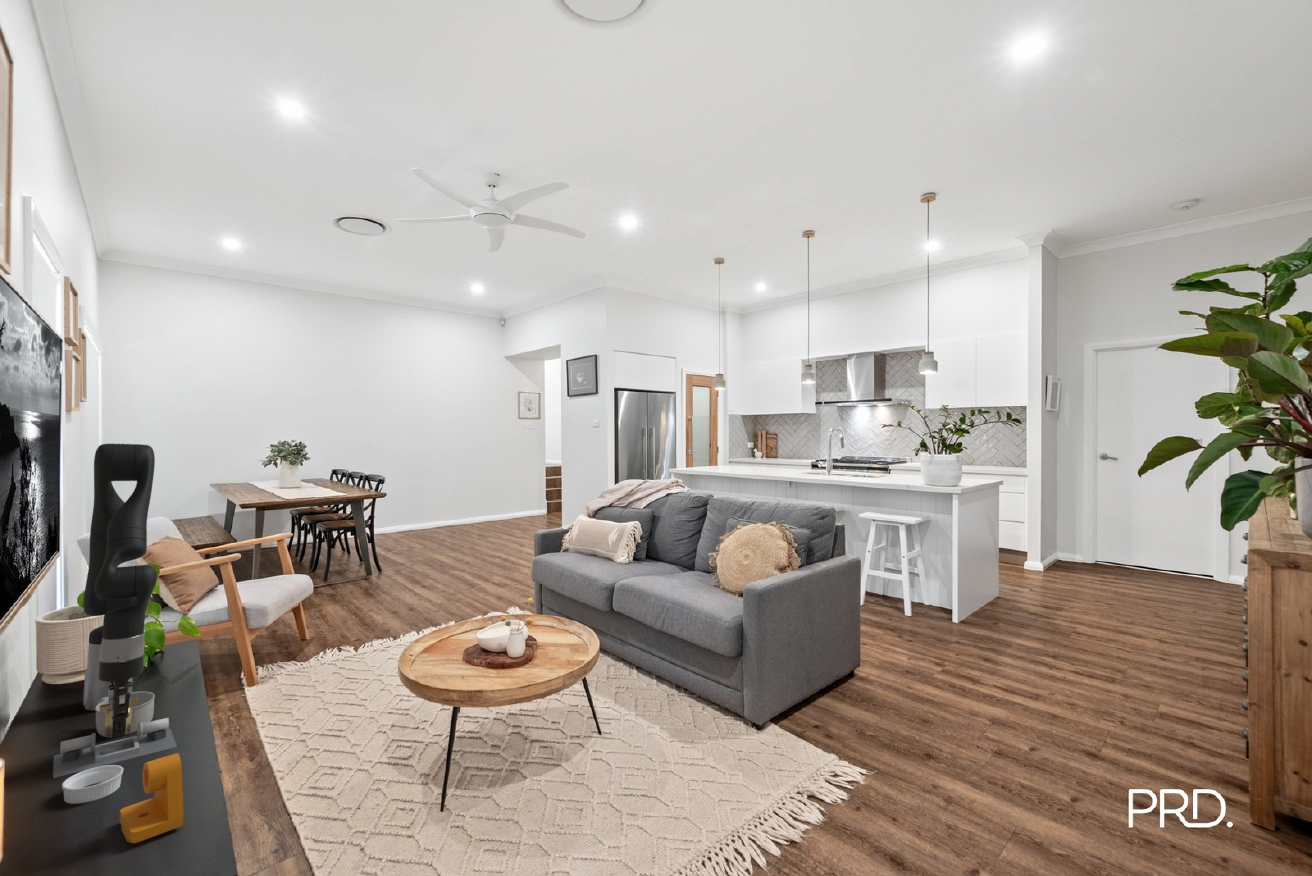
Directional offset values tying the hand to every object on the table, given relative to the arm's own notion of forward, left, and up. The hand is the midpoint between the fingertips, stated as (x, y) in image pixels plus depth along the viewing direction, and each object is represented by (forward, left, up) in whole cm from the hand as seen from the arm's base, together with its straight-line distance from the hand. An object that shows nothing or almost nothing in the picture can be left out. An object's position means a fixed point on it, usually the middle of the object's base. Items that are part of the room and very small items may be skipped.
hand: (117, 731), depth 133 cm
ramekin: (+13, -12, -6) cm, 19 cm away
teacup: (-12, +9, -6) cm, 16 cm away
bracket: (+33, -15, -6) cm, 37 cm away
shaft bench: (0, 0, -6) cm, 6 cm away
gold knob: (0, 0, 0) cm, 0 cm away
